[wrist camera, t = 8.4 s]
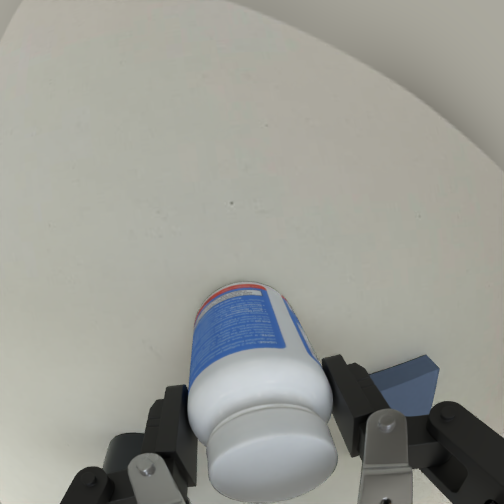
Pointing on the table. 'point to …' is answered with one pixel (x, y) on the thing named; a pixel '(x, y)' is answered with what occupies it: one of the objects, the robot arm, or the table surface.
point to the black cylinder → (122, 451)
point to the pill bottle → (259, 397)
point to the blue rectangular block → (409, 386)
